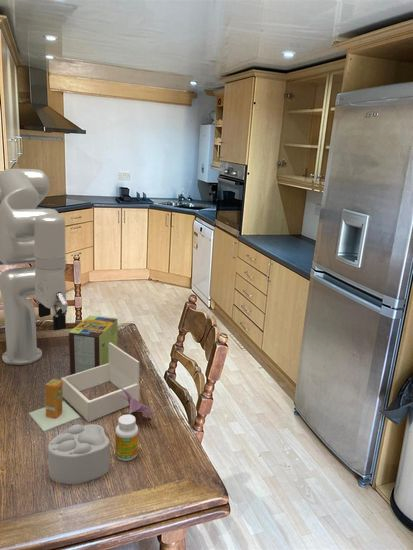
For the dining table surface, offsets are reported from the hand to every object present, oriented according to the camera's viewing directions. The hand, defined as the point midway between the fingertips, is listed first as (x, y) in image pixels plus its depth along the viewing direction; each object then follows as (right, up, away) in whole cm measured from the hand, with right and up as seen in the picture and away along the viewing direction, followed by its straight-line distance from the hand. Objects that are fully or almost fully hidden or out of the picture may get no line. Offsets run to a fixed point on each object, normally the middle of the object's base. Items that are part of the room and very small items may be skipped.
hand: (51, 322), depth 117 cm
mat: (+1, -26, 0) cm, 26 cm away
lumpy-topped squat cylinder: (+13, -32, -18) cm, 38 cm away
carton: (+11, -24, +9) cm, 28 cm away
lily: (+23, -27, +1) cm, 35 cm away
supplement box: (+1, -25, 0) cm, 25 cm away
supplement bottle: (+23, -31, -13) cm, 40 cm away
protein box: (+5, -18, +27) cm, 33 cm away
